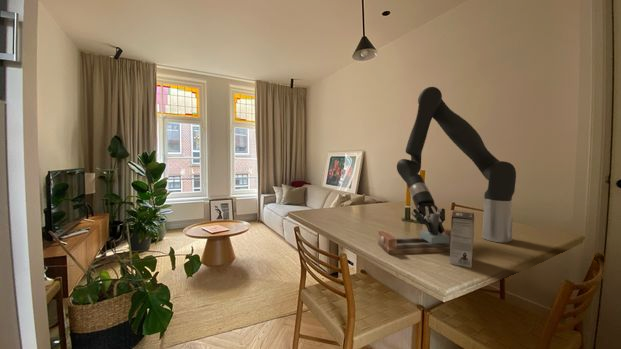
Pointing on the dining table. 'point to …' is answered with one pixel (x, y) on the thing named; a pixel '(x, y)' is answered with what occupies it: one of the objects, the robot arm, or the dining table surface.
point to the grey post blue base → (436, 236)
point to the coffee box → (462, 239)
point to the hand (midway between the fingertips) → (437, 232)
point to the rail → (411, 244)
